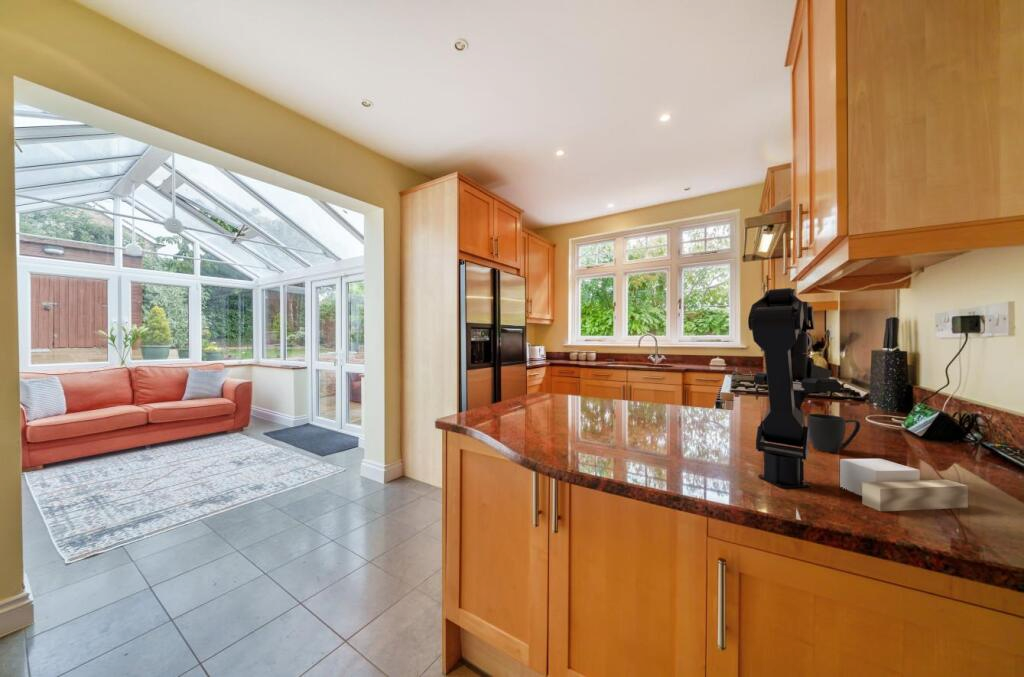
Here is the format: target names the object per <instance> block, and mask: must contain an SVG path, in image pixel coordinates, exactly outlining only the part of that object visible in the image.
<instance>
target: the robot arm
mask: <svg viewBox="0 0 1024 677" xmlns="http://www.w3.org/2000/svg"><path fill="white" fill-rule="evenodd" d="M747 318H748V319H747V324H748V325H747V326H748V331H751V333H752V339H753V342H754V343H755V344H756V345H757V346H758V347H759V348H760V349H761V350H762V351H763V354H764V361H765V362H764V363H765V372H756V373H755V375H754V376H753V383H754V384H762V385H763V384H767V395H768V401H769V402H768V404H769V406H768V407H767V410H766V411H765V414H764V417H763V419H762V420H761V421H760V424H759V425H758V426H757V429H756V430H757V431H756V439H755V450H757V452H761V453H762V452H763V473H762V474H761V473H758V478H759V479H763V480H764V481H766V482H769V483H770V484H773V485H775V486H777V487H779V488H783V489H787V488H791V489H792V488H809V487H810V484H809V483H807V482H805V478H804V476H805V475H804V466H805V465H804V461H806V460H807V459H808V457H809V456H810V455H809V454H810V452H809V451H810V438H809V427H807V425H806V417H805V413H804V410H803V409H802V406H803V402H804V401H805V399H807V396H808V395H810V394H812V393H816V392H818V393H820V392H821V393H825V392H826V393H830V392H831V393H834V392H835V393H836V392H838V393H839V392H841V382H840V381H839V380H838V379H837V378H831V375H832V373H833V372H832V370H831V369H828V368H825V367H823V366H820V365H817V364H815V363H814V362H815V361H814V359H813V357H809V353H808V352H809V350H810V348H811V347H812V345H813V339H812V337H811V336H810V335H809V334H808V331H813V330H815V314H814V307H813V305H812V306H810V302H808V301H804V300H801V299H799V298H798V297H797V292H796V288H791V287H785V288H774V289H773V288H772V289H769V290H766V291H765V292H764V295H763V297H762V298H760V299H758V300H757V301H756V302H754V303H752V305H751V308H750V311H749V315H748V317H747ZM803 460H804V461H803Z"/></svg>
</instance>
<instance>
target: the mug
mask: <svg viewBox="0 0 1024 677" xmlns="http://www.w3.org/2000/svg"><path fill="white" fill-rule="evenodd" d="M851 422H853V423H854V424H855V426H854V428H853V430H852V432H851V434H850V435H849V436H848V437H847V438H846V440H845V435H846V428H847V427H846V423H851ZM806 426H807V427H809V442H810V443H811V445H812V449H813V448H814V449H817V450H820V451H819V452H821V451H825V452H824V453H826V452H834V453H833V454H839V453H840V451H841V450H844V449H846V448H847V446H849V444H850V443H851V442H852V441H853V440H854V438H855V437H856V435H857V434H858V433H859V431H860V429H861V422H860V421H859V420H856V419H846V418H845V417H842V416H837V415H831V414H826V413H825V414H823V413H807V414H806ZM844 440H845V441H844ZM814 449H813V450H814ZM817 450H816V451H817ZM838 452H839V453H838Z"/></svg>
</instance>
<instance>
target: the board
mask: <svg viewBox="0 0 1024 677" xmlns="http://www.w3.org/2000/svg"><path fill="white" fill-rule="evenodd" d="M968 491H969V490H968V485H966V484H962V483H959V482H956V481H954V480H953V481H952V480H949V479H925V480H923V479H922V480H921V479H920V480H919V481H890V482H862V496H861V497H862V498H861V499H862V500H861V504H862V505H864V506H867V507H868V508H871V509H873V510H876V511H879V512H896V511H897V512H898V511H918V510H919V511H921V510H943V509H966V508H967V509H968V507H969V505H968V504H969V502H968V499H969V498H968V497H969V496H968V495H969V494H968Z"/></svg>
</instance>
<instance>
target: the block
mask: <svg viewBox="0 0 1024 677" xmlns="http://www.w3.org/2000/svg"><path fill="white" fill-rule="evenodd" d="M839 472H840V473H839V479H840V481H839V487H840V488H841V487H843V488H842V489H844V488H845V489H844V490H846V489H847V490H846V491H849V492H851V493H853V492H854V493H853V494H856V495H858V496H861V497H862V482H890V481H919V480H921V470H920V469H918V468H915V467H910V466H906V465H903V464H899V463H897V462H893V461H890V460H887V459H883V458H841V459H839Z"/></svg>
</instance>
